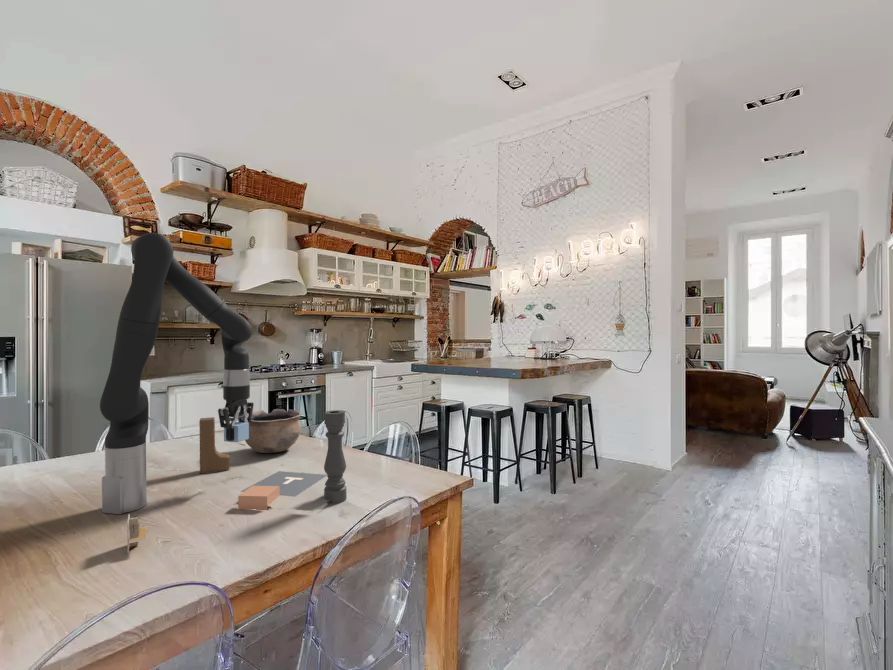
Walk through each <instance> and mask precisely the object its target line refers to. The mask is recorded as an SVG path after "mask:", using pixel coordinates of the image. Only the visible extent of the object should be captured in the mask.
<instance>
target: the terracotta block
mask: <svg viewBox="0 0 893 670" xmlns="http://www.w3.org/2000/svg"><path fill="white" fill-rule="evenodd" d="M250 486H251V487H250ZM250 486H249V487H250V488H248V487H247V488H248V489H247V490H246V491H244V492H240V494H238V497H237V499H238V500H237V501H238V503H237V505H238V506H237V507H238V510H240V509H256V510H255V511H268V510H269V509H270V508H271V504H272V503H273V502H274V501H275V500H276V499H277V498H279V497H280V496H281V495H280V486H252V485H250Z"/></svg>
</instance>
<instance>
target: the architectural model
mask: <svg viewBox="0 0 893 670" xmlns="http://www.w3.org/2000/svg"><path fill="white" fill-rule="evenodd" d="M130 516H131V515H130V513H128V516H127V524H126V525H127V526H126V527H127V530H126V532H127V555H128V554H129V555H130V550H131V549H130V547H131V548H134V547H133V546H135V547H138V546H139V543H138V541H139V542H142V541H146V540H147V533H148V529H147V528H148V527H147V526H145V527H140V523H139V517H137V516H136V517H131V518H130ZM137 545H138V546H137ZM129 549H130V550H129Z"/></svg>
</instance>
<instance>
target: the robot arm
mask: <svg viewBox="0 0 893 670" xmlns="http://www.w3.org/2000/svg"><path fill="white" fill-rule="evenodd" d="M130 251H131V255H132V257H133V259H134V260H133V261H134V262H133V272H132V278H131V279H132V280H131V283H130V286H129V289H128V291H127V294H126V295H125V298H124V299H123V300H124V301H123V303H122V306H121V310H120V312H119V317H118V321H117V326H116V327H117V328H116V332H115V339H114V345H113V350H112V356H111V364H110V369H109V372H108V376H107V379H106V382H105V385H104V389H103V391H102V394H101V397H100V401H99V409H100V413H101V415H102V416H103V418H104V419H106V420H107V421H108V422H109V429H108V431H107V433H106V435H105V437H104V463H105V464H104V466H105V467H104V468H105V469H104V470H105V471H104V473H105V475H103V476H102V477H101V511H102V513H106V514H115V515H123V514H125V513H129V512H134V511H137V510H140V509H142V508H144V507H146V506H147V503H148V501H147V500H148V499H147V496H148V495H147V493H148V490H147V489H148V488H147V486H148V485H147V433H148V432H149V431H148V430H149V419H150V418H149V415H150V414H149V411H150V410H149V409H150V407H149V406H150V404H149V403H150V402H149V398H148V397H149V396H148V394H147V392H146V390H144V389H143V388H142V387H141V385H140V384H141V379H142V373H143V370H144V368H145V365H146V363H147V361H148V359H149V357H150V355H151V353H152V351H153V348H154V346H155V344H156V340H157V336H158V331H159V328H160V327H159V326H160V320H161V314H162V313H161V312H162V306H163V305H162V304H163V295H164V294H163V293H164V287H165V283H167V284H168V285H169V286H171V287H172V288H173V289H174V290H175V291H176V292H177V293H178V294H179V295H180V296H182V298H183V299H185V301H187V302H188V303H189V304H190V305H191V306H192V307H193V308H194V309H195V310H196V311H197V312H198V313H199V314H201V316H203V317H204V319H206V321H209V322H210V323H212V324H215V325H217V327H218V328H220V329H221V332H220V336H221V337H220V339H221V344H222V350H223V355H224V359H223V360H224V361H223V364H224V365H223V366H224V367H223V376H222V377H223V378H222V380H223V383H222V395H223V396H222V397H223V398H222V399H223V400H224V401H225V406H224V407H222V408H218V410H217V413H218V419H219V425H220V428H223V429H224V428H226V439H227V441H233V440H234V425H235V422H244V423H248V422H249V421H251V419H252V412H254V406H255V405H254V404H255V403H254V402H249V401H248V399H250V397H251V395H250V394H251V393H250V392H251V388H250V387H251V377H250V376H251V375H250V355H249V352H248V350H246V347H245V342H247V341H248V340H249V339H251V337H252V336H253V328H252V326H251V324H250V322H249V321H248V320H247V319H246V318H245V317H243V315H241V314H239V313H238V312H237V311H235V310H234V309H233V308H231V307H230V306H229V305H228V304H226V302H225V301H223V299H222V298H221V297H219V296H218V294H217V293H215V292H214V290H212V289H211V288H210V287H209V286H207V285H206V284H205V283H203V282H202V281H200V280H199V279H198V278H197V277H196V276H194V274H192V273H191V272H190V271H188V270H187V269H186V268H185V267H184V266H183V265H182V264H181V263H180V262H179V261H178V259H177V258H176V257H175V256H174V247H173V245H172V243H171V240H169V238H167V237H166V236H164V235H163V234H161V233H159V232H147V233H144V234H141V235H139V236H138V237H137V238H136V239H134V240H133V241H132V244H131V246H130ZM247 414H249V415H247ZM247 416H248V417H247ZM230 423H231V424H230Z"/></svg>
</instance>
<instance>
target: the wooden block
mask: <svg viewBox="0 0 893 670" xmlns="http://www.w3.org/2000/svg"><path fill="white" fill-rule="evenodd" d="M215 422H216V420H215V417H201V418H200V419H199V473H200V474H208V473H207V472H209V473H216V472H215V471H217V472H224V470H225V471H229V470H230V468H231V467H230V463H231V462H230V454H227V453H220V452H219V451H218V450H217V448H216V423H215Z"/></svg>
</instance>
